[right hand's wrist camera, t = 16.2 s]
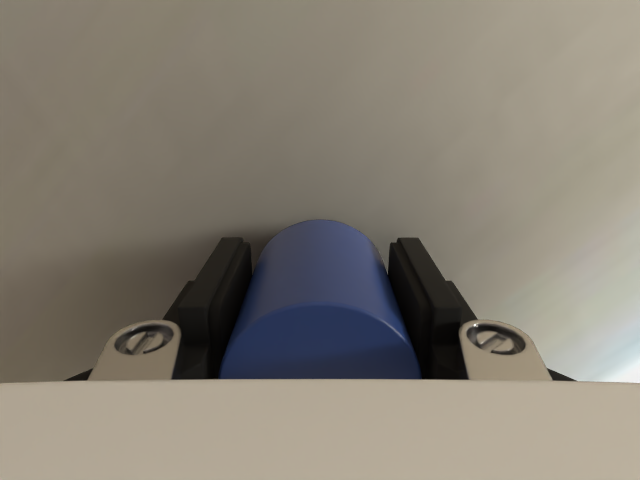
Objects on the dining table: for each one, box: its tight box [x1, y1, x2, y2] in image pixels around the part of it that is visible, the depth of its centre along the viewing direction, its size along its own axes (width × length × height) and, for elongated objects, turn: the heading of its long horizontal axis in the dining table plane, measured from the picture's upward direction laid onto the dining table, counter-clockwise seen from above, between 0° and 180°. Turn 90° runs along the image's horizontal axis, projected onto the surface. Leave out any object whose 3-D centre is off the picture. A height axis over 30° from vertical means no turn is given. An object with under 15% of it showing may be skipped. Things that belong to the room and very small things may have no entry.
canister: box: [218, 220, 422, 380], centre depth 10 cm, size 4×4×5 cm
